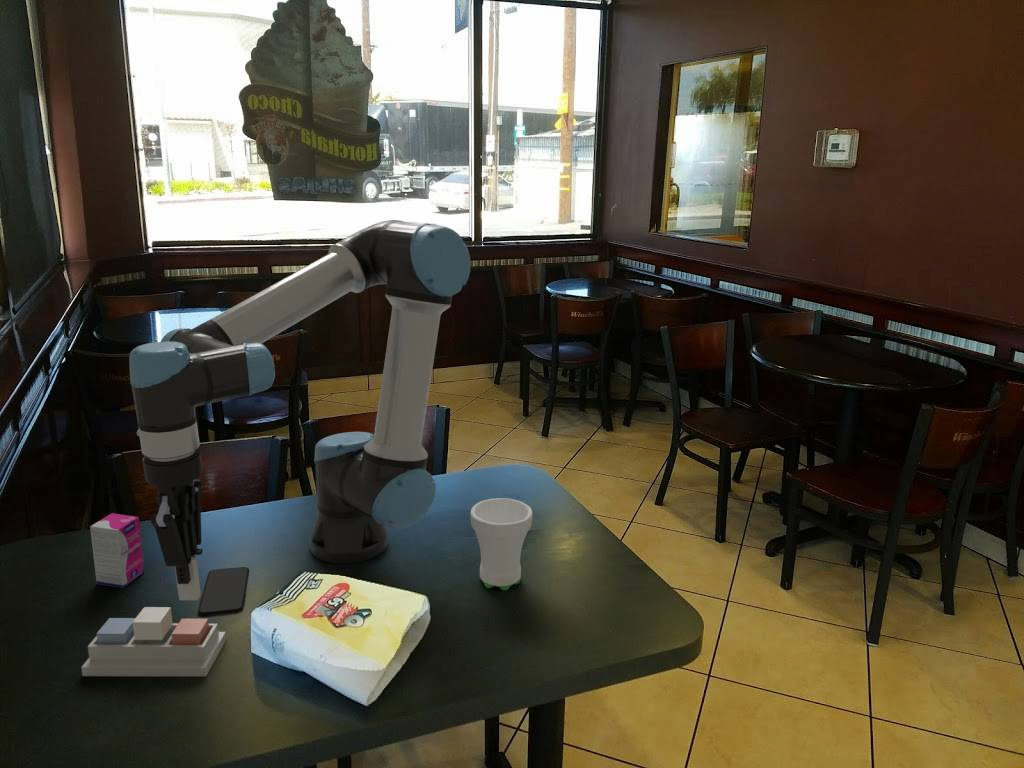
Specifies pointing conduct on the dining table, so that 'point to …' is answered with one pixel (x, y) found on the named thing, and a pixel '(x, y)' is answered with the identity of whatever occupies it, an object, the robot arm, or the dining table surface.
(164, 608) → the white key
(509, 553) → the cup
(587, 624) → the dining table surface
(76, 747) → the dining table surface
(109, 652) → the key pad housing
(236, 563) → the dining table surface
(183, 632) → the red key
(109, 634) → the blue key
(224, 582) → the smartphone
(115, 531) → the supplement box
